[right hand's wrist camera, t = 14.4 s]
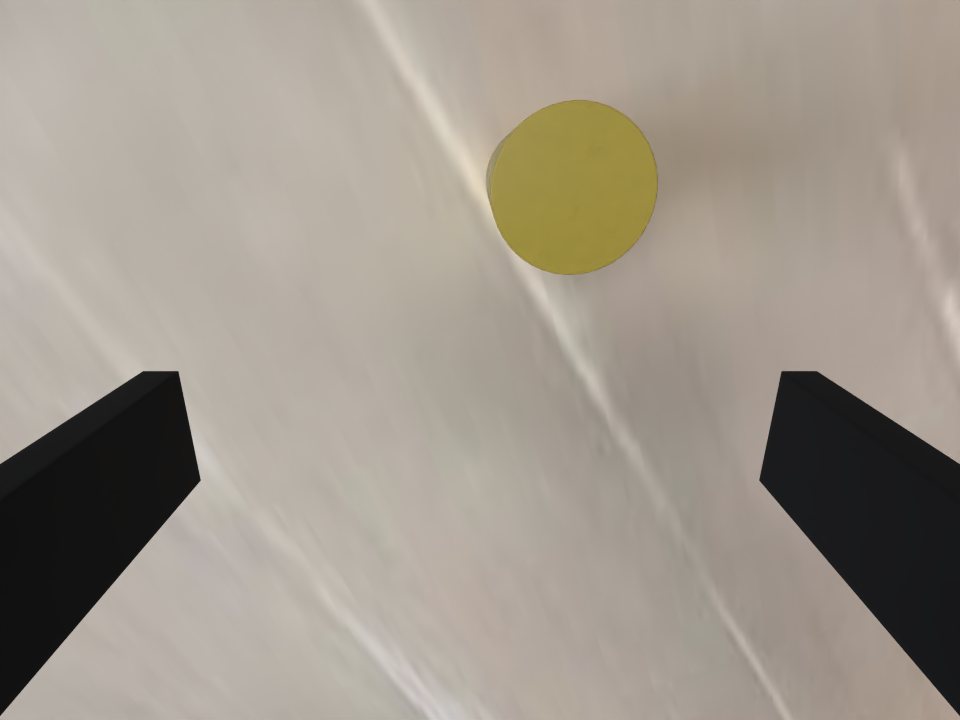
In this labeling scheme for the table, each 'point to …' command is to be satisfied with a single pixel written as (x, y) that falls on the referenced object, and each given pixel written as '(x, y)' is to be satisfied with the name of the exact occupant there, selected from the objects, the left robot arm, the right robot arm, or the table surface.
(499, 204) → the canister
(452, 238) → the table surface
